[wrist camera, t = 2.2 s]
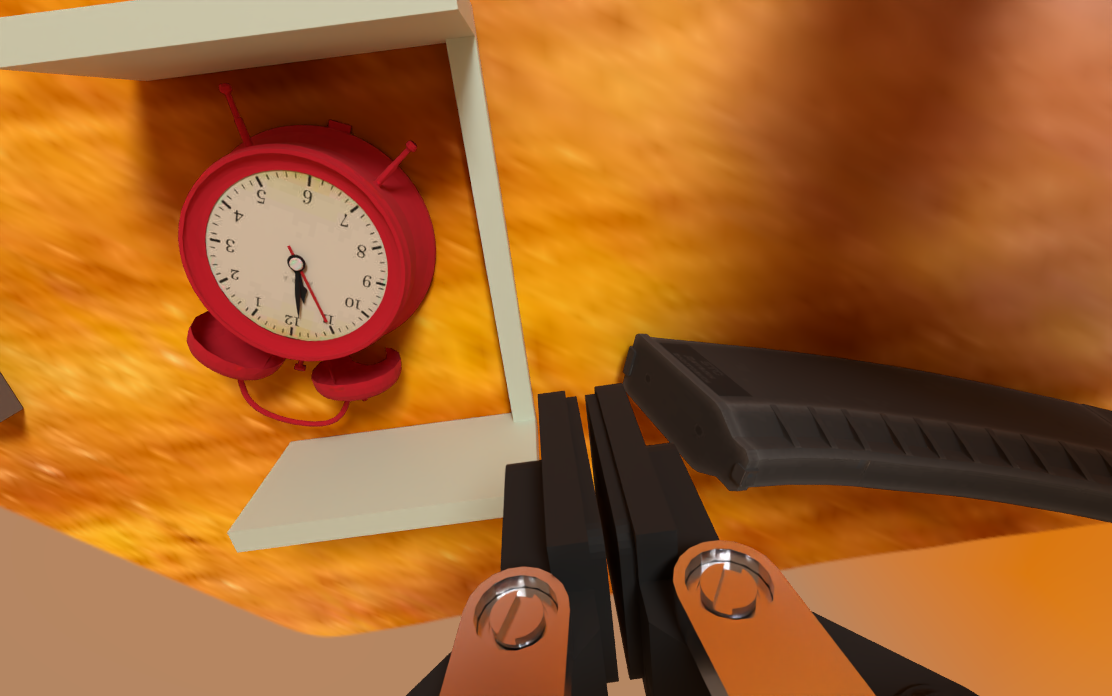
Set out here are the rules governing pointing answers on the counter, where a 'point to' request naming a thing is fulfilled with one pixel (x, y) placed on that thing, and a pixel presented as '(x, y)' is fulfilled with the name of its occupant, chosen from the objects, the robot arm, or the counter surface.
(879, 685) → the robot arm
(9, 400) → the rail
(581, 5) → the counter surface
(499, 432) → the shelf bay
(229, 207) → the alarm clock
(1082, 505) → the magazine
